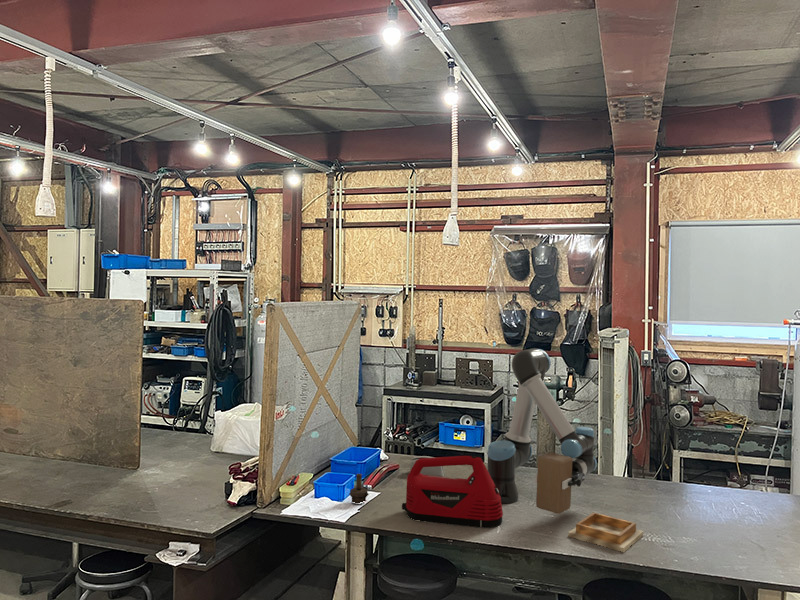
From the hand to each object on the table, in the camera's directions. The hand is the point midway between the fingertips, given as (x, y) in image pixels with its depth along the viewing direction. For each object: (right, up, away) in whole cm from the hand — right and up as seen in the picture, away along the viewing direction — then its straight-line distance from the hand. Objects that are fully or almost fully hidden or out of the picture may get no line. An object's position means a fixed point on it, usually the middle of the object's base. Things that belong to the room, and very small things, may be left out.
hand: (549, 482), depth 225 cm
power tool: (-36, -17, +8) cm, 41 cm away
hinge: (-43, -16, +64) cm, 79 cm away
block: (+2, -11, +3) cm, 12 cm away
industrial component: (-74, -16, +22) cm, 79 cm away
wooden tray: (+19, -17, -8) cm, 27 cm away
